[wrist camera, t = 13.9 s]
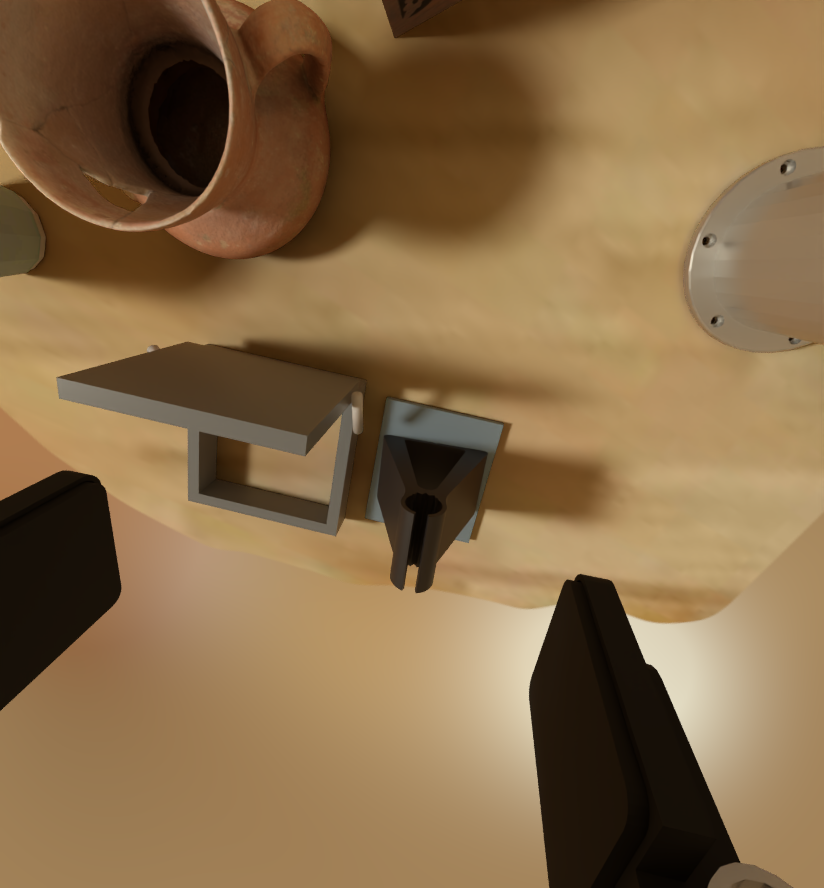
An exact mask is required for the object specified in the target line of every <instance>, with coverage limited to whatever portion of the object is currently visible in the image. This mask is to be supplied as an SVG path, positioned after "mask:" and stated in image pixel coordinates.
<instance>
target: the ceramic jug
mask: <svg viewBox="0 0 824 888" xmlns="http://www.w3.org/2000/svg"><path fill="white" fill-rule="evenodd" d="M301 54H305V56H304V58H303V57H302V55H301ZM331 60H332V41H331V36H330V33H329V31H328V29H327V27H326V25H325V24H324V23H323V21H322V20H321V19H320V17H319V16H318V15H317V14H316V13H314V12H313V11H312V10H311V9H310V8H308V7H307V6H306V5H304V4H303V3H301V2H300V1H298V0H271V1H269V2H266V3H264V4H263V5H261V6H259V7H258V8H257V9H255V10H254V9H253V8H251V7H249V6H247V5H245V4H243V3H240V2H238V1H235V0H0V143H1V145H2V147H3V148H4V150H5V151H6V153H7V154H8V156H9V157H10V159H11V160H12V161H13V162H14V164H15V165H16V167H17V168H18V169H19V170H20V172H21V173H22V174H23V175H24V176H25V177H26V178H27V179H28V180H29V181H30V182H31V183H32V184H33V185H34V186H35V187H36V188H37V189H38V190H39V191H40V192H41V193H43V194H44V195H45V196H46V197H47V198H49V199H50V200H51V201H53V202H54V203H55V204H57V205H58V206H60V207H61V208H63V209H64V210H66V211H68V212H69V213H71V214H73V215H75V216H77V217H79V218H81V219H83V220H86V221H88V222H90V223H93V224H96V225H99V226H103V227H106V228H110V229H114V230H119V231H128V232H147V231H157V230H163V229H165V230H166V231H167V232H168V233H169V234H171V235H172V236H174V237H175V238H177V239H178V240H180V241H181V242H183V243H184V244H186V245H188V246H190V247H192V248H194V249H196V250H198V251H201V252H203V253H206V254H209V255H212V256H216V257H221V258H227V259H246V258H253V257H258V256H262V255H265V254H268V253H271V252H273V251H275V250H277V249H279V248H280V247H282V246H284V245H285V244H287V243H288V242H289V241H291V240H292V239H293V238H294V237H295V236H296V235H297V234H299V232H300V231H301V230H302V229H303V228H304V227H305V226H306V224H307V223H308V222H309V220H310V219H311V217H312V216H313V214H314V212H315V211H316V209H317V207H318V205H319V203H320V200H321V198H322V195H323V192H324V189H325V186H326V181H327V177H328V171H329V165H330V135H329V126H328V120H327V114H326V109H325V101H324V98H325V88H326V87H327V83H328V79H329V74H330V67H331ZM83 173H84V174H87V175H89V176H91V177H93V178H95V179H97V180H98V181H100V182H102V183H104V184H106V185H108V186H113V187H116V188H119V189H122V190H123V191H124V193H125V194H126V195H127V196H128V197H129V198H131V199H132V200H134V201H137V202H139V203H140V204H141V206H140V207H138V208H136V210H135V211H128V210H125V209H123V208H120V207H117V206H116V205H114V204H112V203H110V202H109V201H108V200H106V199H105V198H103V197H102V196H101V195H100V194H99V193H98V192H97V190H96V189H95V188H94V187H93V186H92V184H91V183H90V182H89V181H88V179H87V178H86V177H85V176H84V174H83Z"/></svg>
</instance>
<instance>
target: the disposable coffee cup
mask: <svg viewBox="0 0 824 888" xmlns="http://www.w3.org/2000/svg"><path fill="white" fill-rule="evenodd" d="M45 241H46V236H45V233H44V230H43V227H42V225H41V222H40V219H39V216H38V214H37V213H36V212H35V211H34V210H33V209H32V208H31V206H30V205H29V204H28V203H27V202H26V201H25V200H24V198H23V197H21V196H19V195H17V194H16V193H15V192H14V191H11V190H9V189H7V188H5V187H3V186H1V185H0V277H4V276H10V275H17V274H23V273H28V271H29V270H31V269H34V268H35V267H36V266H37V264H38V263H39V262H40V261H41V260H42V259H43V257H44V252H45Z"/></svg>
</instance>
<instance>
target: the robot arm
mask: <svg viewBox="0 0 824 888" xmlns="http://www.w3.org/2000/svg"><path fill="white" fill-rule="evenodd" d="M781 166H782V168H783V170H782V173H781V172H780V168H781ZM704 237H705V238H706V240H707V241H706V243H705V244H704V245H703V244H702V240H703V238H704ZM683 283H684V291H685V298H686V301H687V304H688V307H689V309H690V312H691V314H692V315H693V317H694V318H695V320H696V322H697V323H698V325H699V326H700V327H701V328H702V329H703V330H704V331H705V332H706V333H707V334H709V335H710V336H711V337H713V338H714V339H716V340H718V341H719V342H721V343H723V344H725V345H728V346H731V347H734V348H736V349H741V350H745V351H750V352H760V353H774V352H781V351H788V350H792V349H796V348H799V347H802V346H805V345H809V344H811V343H817V344H822V345H824V147H815V148H807V149H801V150H798V151H795V152H791V153H788V154H785V155H782V156H779V157H777V158H774V159H772V160H769V161H767V162H765V163H762V164H761V165H759V166H757V167H756V168H754V169H752V170H751V171H749V172H747V173H746V174H744V175H742V176H741V177H740V178H739V179H738V180H736V181H735V182H734V183H733V184H732V185H730V186H729V187H728V188H727V189H726V190H725V191H724V192H723V193H722V194H721V195H720V196H719V197H718V198H717V199H716V201H715V202H714V203H713V204H712V205H711V206H710V207H709V209H708V210H707V212H706V214H705V215H704V217H703V218H702V220H701V221H700V223H699V224H698V226H697V228H696V230H695V233H694V235H693V237H692V239H691V241H690V244H689V247H688V251H687V255H686V259H685V263H684V276H683ZM713 317H714V318H715V320H714V322H713V323H711V320H712V318H713ZM789 337H790V338H789ZM120 593H121V581H120V575H119V568H118V563H117V556H116V550H115V544H114V537H113V531H112V525H111V518H110V512H109V507H108V500H107V493H106V490H105V488H104V486H103V485H101V482H100V480H99V479H98V478H97V477H95V476H93V475H88V474H83V473H78V472H73V471H60V472H58V473H55V474H53V475H51V476H49V477H47V478H45V479H43V480H41V481H39V482H37V483H35V484H33V485H31V486H29V487H27V488H25V489H23V490H21V491H19V492H17V493H15V494H13V495H11V496H9V497H7V498H5V499H3V500H1V501H0V711H1V710H2V709H3V708H4V707H5V706H6V705H7V704H8V703H9V702H10V701H11V700H12V699H14V698H15V697H16V696H17V694H19V693H20V692H21V691H22V690H23V689H24V688H25V687H26V686H27V685H29V683H30V682H32V681H33V680H34V679H35V678H36V677H37V676H38V675H39V674H40V673H41V672H42V671H44V669H46V668H47V667H48V666H49V665H50V664H51V663H52V662H53V661H54V660H55V659H56V658H57V657H58V656H60V655H61V654H62V653H63V652H64V651H65V650H66V649H67V648H68V647H69V646H70V645H71V644H72V643H73V642H75V641H76V640H77V639H78V638H79V637H80V636H81V635H82V634H83V633H84V632H85V631H86V630H87V629H88V628H89V627H91V626H92V625H93V624H94V623H95V622H96V621H97V620H98V619H99V618H100V617H101V616H102V615H103V614H105V613H106V612H107V611H108V610H109V609H110V608H111V607H112V606H113V605H114V604H115V603H116V601H117V600H118V598H119V596H120ZM529 701H530V711H531V720H532V730H533V739H534V748H535V757H536V767H537V777H538V786H539V795H540V804H541V814H542V823H543V833H544V842H545V852H546V860H547V871H548V879H549V888H793V887H791V886H790V885H789V884H787V883H786V882H785V881H783V880H782V879H781V878H779V877H777V876H776V875H774V874H772V873H769V872H768V871H765V870H763V869H761V868H759V867H757V866H755V865H750V864H743V863H740V861H739V859H738V856H737V854H736V851H735V849H734V847H733V844H732V842H731V840H730V837H729V835H728V833H727V830H726V828H725V826H724V823H723V821H722V819H721V817H720V814H719V812H718V809H717V807H716V805H715V802H714V800H713V798H712V795H711V793H710V791H709V789H708V786H707V784H706V781H705V779H704V777H703V774H702V772H701V770H700V767H699V765H698V763H697V760H696V758H695V756H694V753H693V751H692V749H691V746H690V744H689V742H688V740H687V737H686V735H685V732H684V730H683V728H682V725H681V723H680V721H679V719H678V716H677V714H676V711H675V709H674V707H673V704H672V702H671V700H670V697H669V695H668V693H667V690H666V688H665V686H664V683H663V681H662V679H661V677H660V675H659V673H658V671H657V670H656V669H655V668H654V667H653V666H652V665H649V664H646V663H645V660H644V658H643V655H642V653H641V650H640V648H639V645H638V643H637V641H636V638H635V635H634V633H633V631H632V628H631V626H630V623H629V621H628V618H627V616H626V613H625V611H624V608H623V606H622V603H621V601H620V598H619V596H618V594H617V591H616V589H615V586H614V584H613V583H612V581H610V580H607V579H602V578H597V577H592V576H587V575H582V574H579V575H577V576H576V578H575V580H574V581H572V580H566V581H565V582H564V585H563V587H562V590H561V593H560V596H559V599H558V602H557V605H556V608H555V611H554V614H553V616H552V619H551V623H550V625H549V628H548V631H547V634H546V637H545V640H544V643H543V646H542V648H541V651H540V654H539V657H538V660H537V663H536V666H535V669H534V672H533V674H532V677H531V681H530V688H529Z"/></svg>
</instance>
